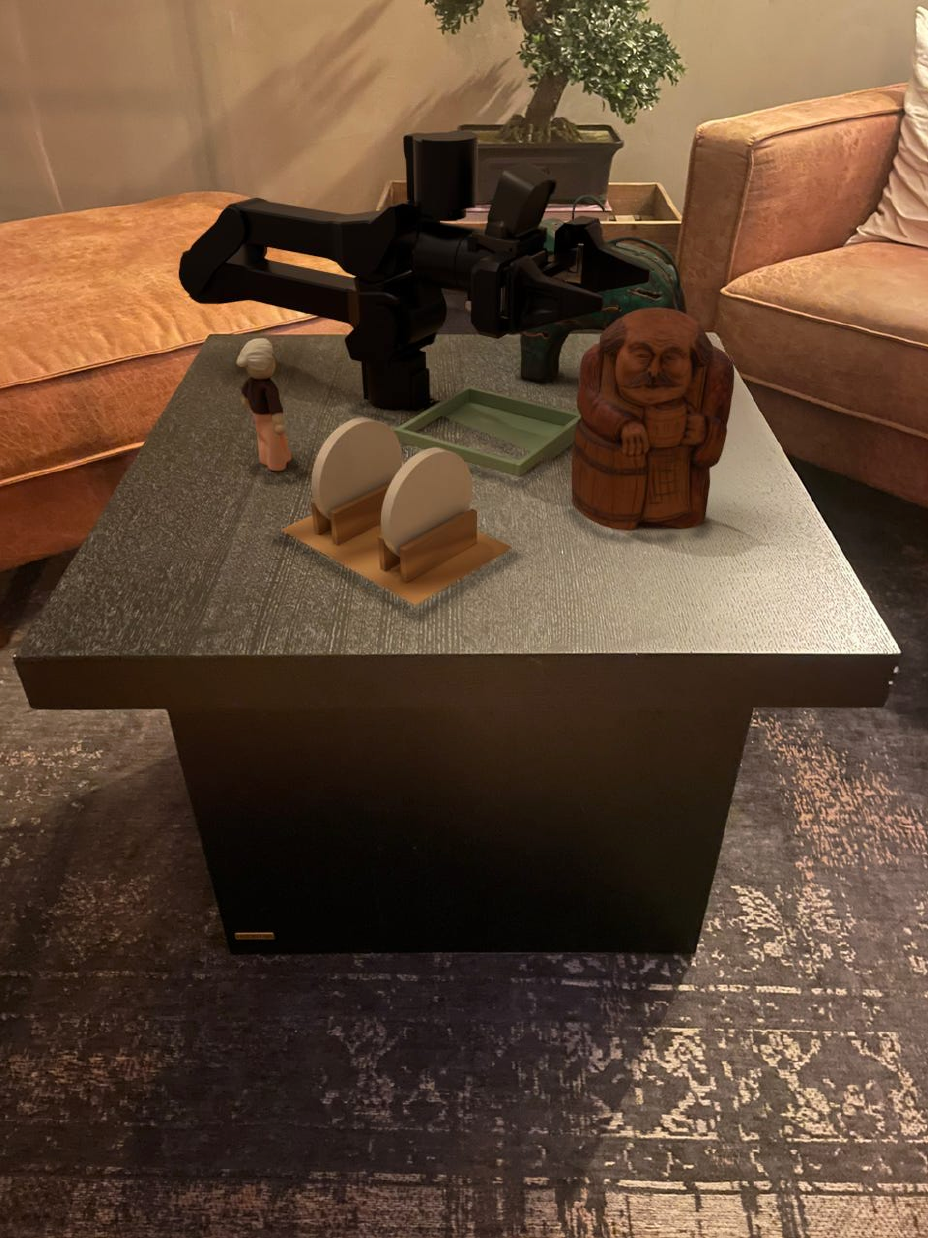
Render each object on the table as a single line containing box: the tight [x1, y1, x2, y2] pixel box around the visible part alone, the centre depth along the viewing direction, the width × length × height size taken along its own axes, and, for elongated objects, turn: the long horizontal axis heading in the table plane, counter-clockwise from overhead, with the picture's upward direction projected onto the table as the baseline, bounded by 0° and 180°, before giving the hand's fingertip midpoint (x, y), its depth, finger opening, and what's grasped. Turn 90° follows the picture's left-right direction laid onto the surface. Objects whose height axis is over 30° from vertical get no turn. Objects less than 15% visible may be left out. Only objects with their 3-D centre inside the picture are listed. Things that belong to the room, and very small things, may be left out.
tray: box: [393, 385, 581, 478], centre depth 91 cm, size 14×13×2 cm
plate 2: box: [381, 447, 473, 557], centre depth 70 cm, size 1×9×9 cm, turn 137°
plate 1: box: [310, 417, 403, 521], centre depth 75 cm, size 1×9×9 cm, turn 137°
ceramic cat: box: [519, 194, 688, 384], centre depth 97 cm, size 20×6×20 cm, turn 58°
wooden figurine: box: [571, 308, 735, 531], centre depth 74 cm, size 12×6×18 cm, turn 89°
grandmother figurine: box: [235, 337, 293, 472], centre depth 83 cm, size 8×4×13 cm, turn 47°
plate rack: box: [280, 482, 513, 606], centre depth 75 cm, size 16×11×4 cm
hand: (626, 289), depth 78 cm, fingers open, 9 cm apart
